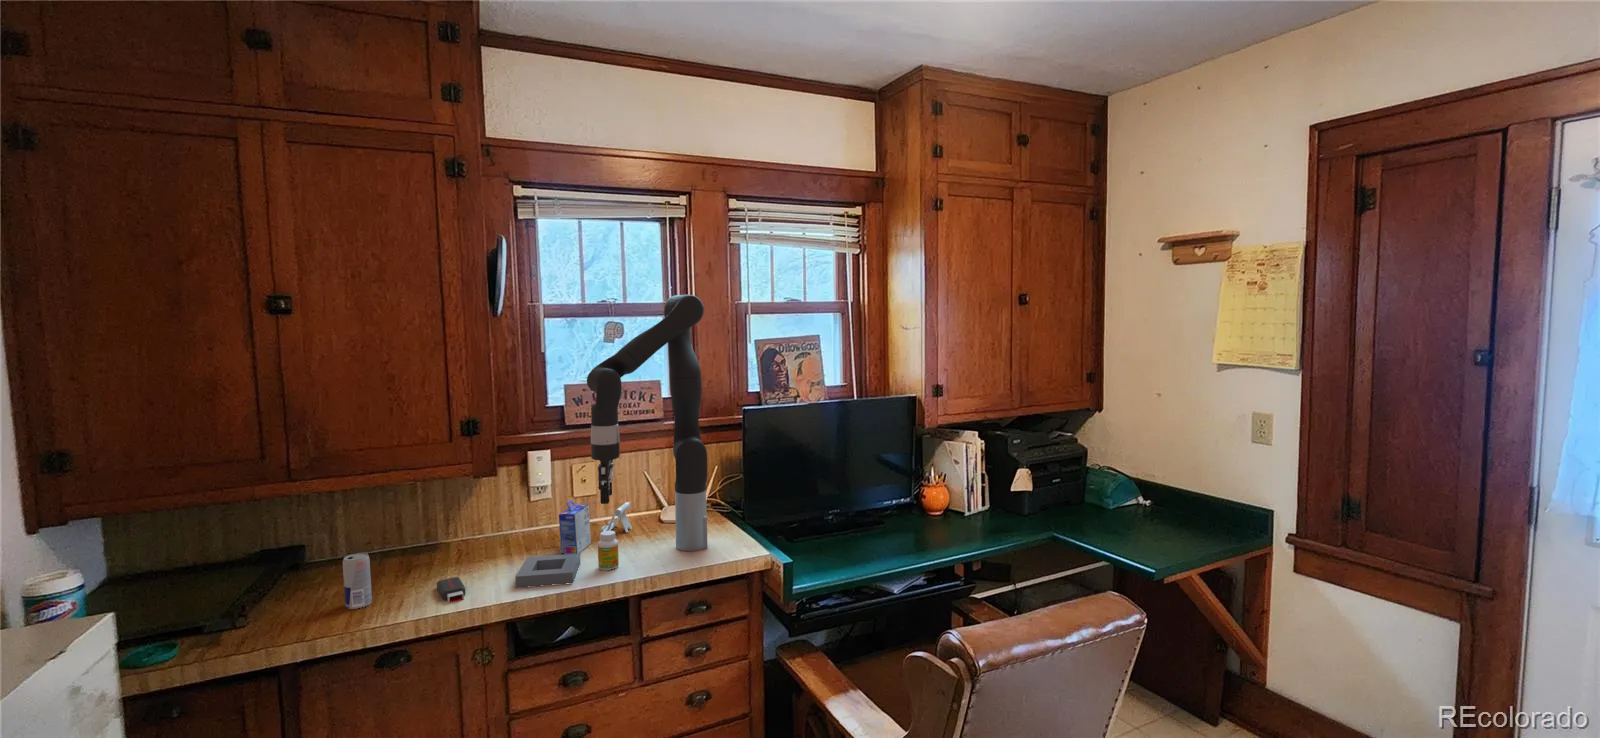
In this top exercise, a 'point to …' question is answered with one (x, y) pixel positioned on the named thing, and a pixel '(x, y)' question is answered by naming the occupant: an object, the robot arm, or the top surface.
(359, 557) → the energy drink
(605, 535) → the supplement bottle
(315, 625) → the top surface
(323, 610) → the top surface
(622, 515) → the portable electronic device stand
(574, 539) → the ink cartridge box
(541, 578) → the socket block
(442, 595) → the usb drive
